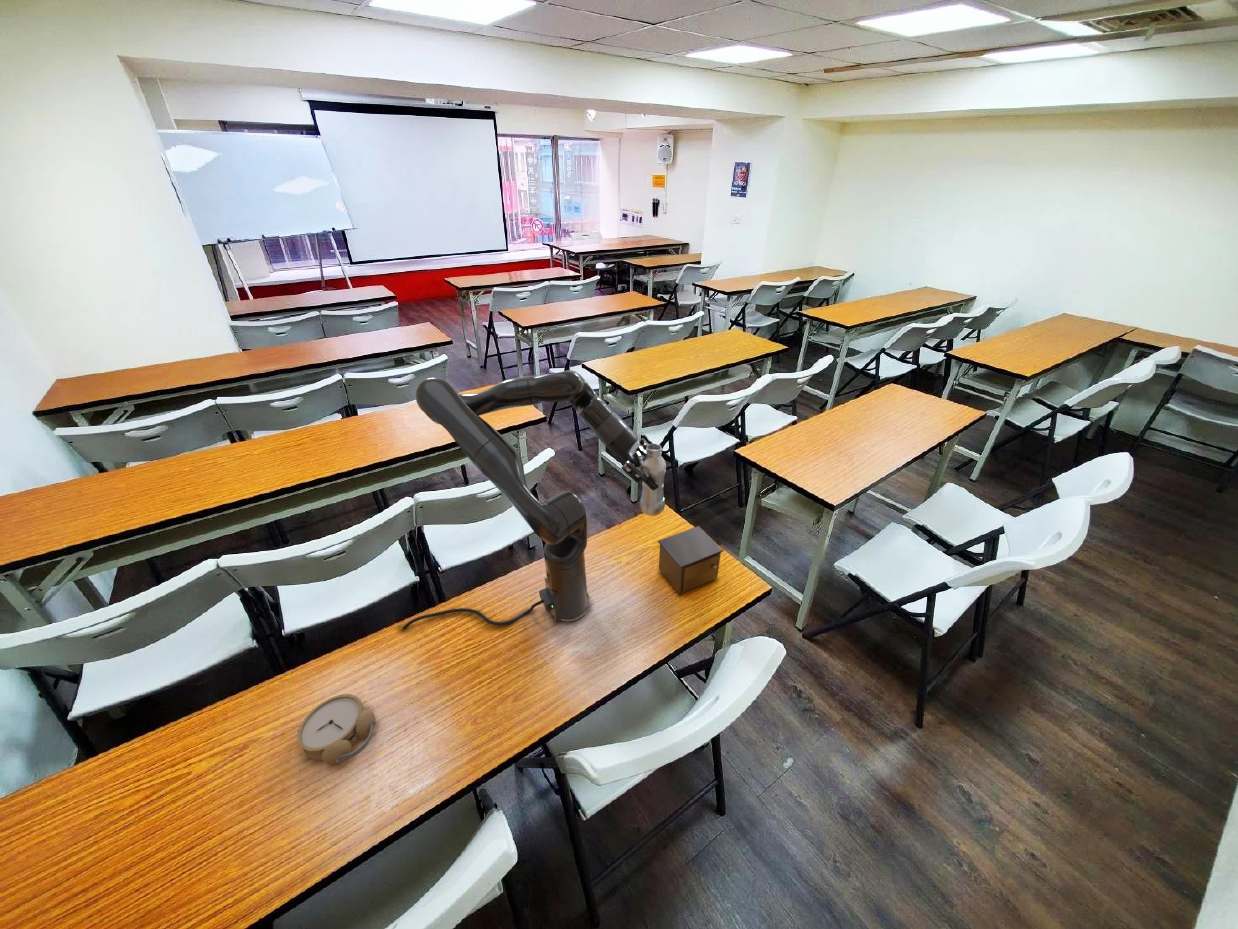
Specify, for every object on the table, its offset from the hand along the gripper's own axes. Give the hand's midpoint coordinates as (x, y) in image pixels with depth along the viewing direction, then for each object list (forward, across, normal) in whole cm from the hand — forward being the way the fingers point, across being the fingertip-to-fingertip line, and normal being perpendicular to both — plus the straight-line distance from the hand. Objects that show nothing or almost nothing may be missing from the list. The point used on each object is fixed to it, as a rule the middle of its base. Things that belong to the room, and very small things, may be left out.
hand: (659, 481), depth 120 cm
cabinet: (+25, +6, -10) cm, 28 cm away
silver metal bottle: (+6, 0, -9) cm, 11 cm away
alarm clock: (-14, +68, -50) cm, 85 cm away
